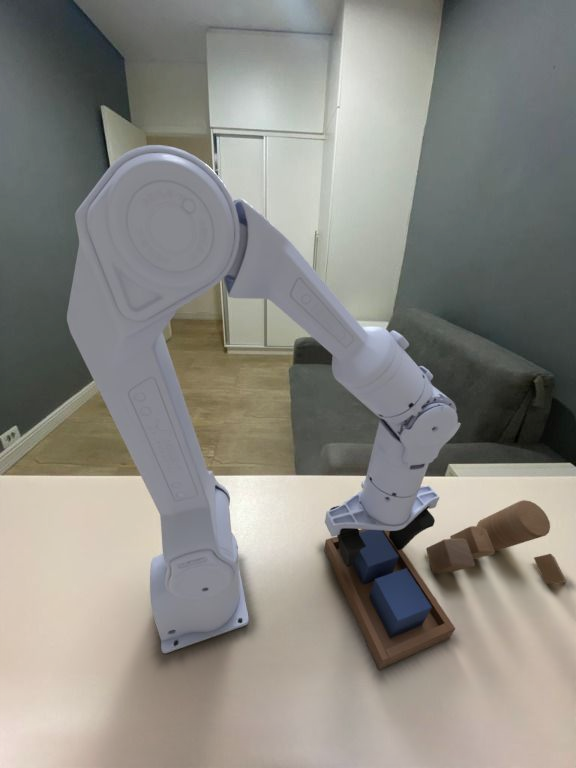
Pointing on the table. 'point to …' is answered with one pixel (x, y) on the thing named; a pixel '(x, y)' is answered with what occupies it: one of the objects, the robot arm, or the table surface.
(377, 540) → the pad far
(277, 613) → the table surface
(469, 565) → the wooden block set
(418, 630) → the frame
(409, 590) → the blue cube
